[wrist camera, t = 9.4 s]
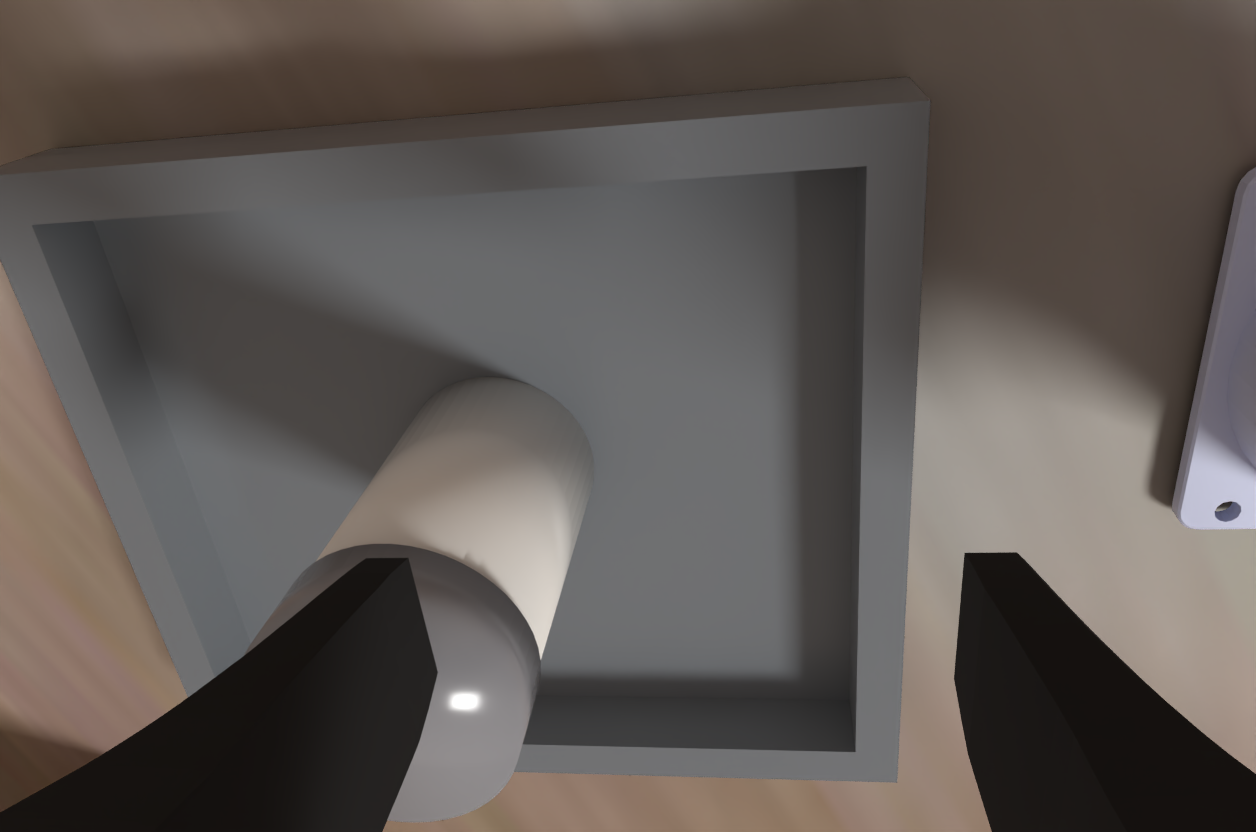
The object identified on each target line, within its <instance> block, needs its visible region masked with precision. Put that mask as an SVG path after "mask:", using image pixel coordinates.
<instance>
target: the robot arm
mask: <svg viewBox="0 0 1256 832" xmlns="http://www.w3.org/2000/svg"><path fill="white" fill-rule="evenodd" d="M1229 501H1232V504H1231V506H1230V507H1228V508H1227V509H1225V510H1223V511H1218V512H1217V511H1215V510H1216V508H1217V507H1218V506H1219V505H1221V504H1222V503H1224V502H1229ZM1172 511H1173V512H1174V514H1175V515H1176V517H1177V518H1178V519H1179V521H1180V522H1181V524H1182V525H1184V526H1186V527H1188V528H1191V529H1256V167H1255V168H1253V169H1252V170H1250V171H1248V173H1247V174H1246V175H1245V176H1244V177H1243V178H1242V179H1241V180H1240V182H1239V185H1238V187H1237V190H1236V193H1235V198H1234V203H1233V208H1232V213H1231V217H1230V222H1229V227H1228V232H1227V237H1226V242H1225V247H1224V252H1223V257H1222V262H1221V266H1220V271H1219V276H1218V281H1217V286H1216V291H1215V296H1214V301H1213V306H1212V311H1211V315H1210V320H1209V325H1208V330H1207V335H1206V340H1205V345H1204V350H1203V355H1202V360H1201V364H1200V369H1199V374H1198V379H1197V384H1196V389H1195V394H1194V399H1193V404H1192V409H1191V413H1190V418H1189V423H1188V428H1187V433H1186V438H1185V443H1184V448H1183V453H1182V457H1181V462H1180V467H1179V472H1178V477H1177V482H1176V487H1175V492H1174V497H1173V502H1172ZM437 674H438V671H437V667H436V663H435V659H434V655H433V651H432V647H431V644H430V640H429V636H428V632H427V628H426V624H425V620H424V616H423V612H422V609H421V605H420V601H419V597H418V593H417V589H416V585H415V581H414V577H413V574H412V570H411V566H410V562H409V558H365V559H364V560H363V561H361V562H360V563H359V564H357V565H356V566H354V567H353V568H352V569H350V570H349V571H348V572H347V573H345V574H344V575H343V576H342V577H340V578H339V579H338V580H337V581H335V582H334V583H333V584H332V585H330V586H329V587H328V588H327V589H325V590H324V591H323V592H322V593H321V594H319V595H318V596H317V597H316V598H315V599H313V600H312V601H311V602H310V603H308V604H307V605H306V606H305V607H304V608H302V609H301V610H300V611H299V612H298V613H296V614H295V615H294V616H293V617H291V618H290V619H289V620H288V621H286V622H285V623H284V624H283V625H282V626H280V627H279V628H278V629H277V630H275V631H274V632H273V633H272V634H270V635H269V636H268V637H267V638H265V639H264V640H263V641H262V642H261V643H259V644H258V645H257V646H256V647H254V648H253V649H252V650H251V651H249V652H248V653H247V654H246V655H244V656H243V657H242V658H240V659H239V660H238V661H236V662H235V663H234V664H232V665H231V666H230V667H228V668H227V669H226V670H224V671H223V672H221V673H220V674H219V675H217V676H216V677H215V678H213V679H212V680H211V681H209V682H208V683H207V684H205V685H204V686H203V687H201V688H200V689H199V690H197V691H196V692H195V693H193V694H192V695H191V696H189V697H188V698H187V699H185V700H184V701H183V702H181V703H180V704H179V705H177V706H176V707H174V708H173V709H171V710H170V711H169V712H167V713H166V714H164V715H163V716H161V717H160V718H158V719H157V720H155V721H154V722H152V723H151V724H149V725H148V726H146V727H145V728H143V729H142V730H140V731H139V732H137V733H136V734H134V735H133V736H131V737H129V738H128V739H126V740H125V741H123V742H122V743H120V744H118V745H117V746H115V747H114V748H112V749H111V750H109V751H107V752H106V753H104V754H103V755H101V756H99V757H98V758H96V759H94V760H93V761H91V762H89V763H88V764H86V765H85V766H83V767H81V768H79V769H77V770H76V771H74V772H72V773H70V774H68V775H67V776H65V777H63V778H61V779H60V780H58V781H56V782H54V783H52V784H51V785H49V786H47V787H45V788H43V789H42V790H40V791H38V792H36V793H35V794H33V795H31V796H29V797H27V798H26V799H24V800H22V801H20V802H18V803H17V804H15V805H13V806H11V807H10V808H8V809H6V810H4V811H2V812H0V832H382V831H383V829H384V826H385V824H386V822H387V819H388V817H389V815H390V812H391V810H392V807H393V805H394V803H395V800H396V798H397V796H398V793H399V791H400V788H401V786H402V783H403V781H404V779H405V776H406V774H407V771H408V769H409V766H410V764H411V762H412V759H413V757H414V754H415V752H416V749H417V747H418V744H419V741H420V738H421V734H422V731H423V727H424V724H425V720H426V717H427V713H428V710H429V706H430V702H431V698H432V694H433V690H434V686H435V682H436V678H437ZM954 680H955V686H956V691H957V697H958V703H959V708H960V714H961V720H962V725H963V730H964V735H965V741H966V746H967V751H968V755H969V759H970V762H971V765H972V769H973V772H974V775H975V779H976V782H977V785H978V788H979V792H980V795H981V798H982V801H983V804H984V808H985V811H986V814H987V817H988V821H989V824H990V827H991V830H992V832H1256V774H1255V773H1254V772H1252V771H1251V770H1250V769H1248V768H1247V767H1246V766H1244V765H1243V764H1242V763H1240V762H1239V761H1238V760H1236V759H1235V758H1234V757H1232V756H1231V755H1230V754H1228V753H1227V752H1226V751H1225V750H1223V749H1222V748H1221V747H1220V746H1218V745H1217V744H1216V743H1215V742H1213V741H1212V740H1211V739H1210V738H1208V737H1207V736H1206V735H1205V734H1203V733H1202V732H1201V731H1200V730H1199V729H1197V728H1196V727H1195V726H1194V725H1193V724H1192V723H1190V722H1189V721H1188V720H1187V719H1186V718H1185V717H1183V716H1182V715H1181V714H1180V713H1179V712H1178V711H1177V710H1175V709H1174V708H1173V707H1172V706H1171V705H1170V704H1168V703H1167V702H1166V701H1165V700H1164V699H1163V698H1162V697H1161V696H1159V695H1158V694H1157V693H1156V692H1155V691H1154V690H1153V689H1152V688H1151V687H1150V686H1149V685H1147V684H1146V683H1145V682H1144V681H1143V680H1142V679H1141V678H1140V677H1139V676H1138V675H1137V674H1136V673H1135V672H1134V671H1133V670H1132V669H1131V668H1130V667H1128V666H1127V665H1126V664H1125V663H1124V662H1123V661H1122V660H1121V659H1120V658H1119V657H1118V656H1117V655H1116V654H1115V653H1114V652H1113V651H1112V650H1111V649H1110V648H1109V647H1108V646H1107V645H1106V644H1105V643H1104V642H1103V641H1102V640H1101V639H1100V638H1099V637H1098V636H1097V635H1096V634H1095V633H1094V632H1093V631H1092V630H1091V629H1090V628H1089V627H1088V626H1087V625H1086V624H1085V623H1084V622H1083V621H1082V620H1081V619H1080V618H1079V617H1078V616H1077V615H1076V614H1075V613H1074V612H1073V611H1072V610H1071V609H1070V608H1069V607H1068V606H1067V605H1066V604H1065V602H1064V601H1063V600H1062V599H1061V598H1060V597H1059V596H1058V595H1057V594H1056V593H1055V592H1054V591H1053V590H1052V589H1051V588H1050V586H1049V585H1048V584H1047V583H1046V582H1045V581H1044V580H1043V579H1042V578H1041V577H1040V576H1039V575H1038V574H1037V573H1036V571H1035V570H1034V569H1033V568H1032V567H1031V566H1030V565H1029V564H1028V563H1027V562H1026V561H1025V560H1024V559H1023V558H1022V557H1021V556H1020V555H1019V554H1018V553H965V555H964V567H963V579H962V591H961V603H960V615H959V627H958V639H957V651H956V663H955V675H954Z"/></svg>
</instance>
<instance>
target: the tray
mask: <svg viewBox="0 0 1256 832" xmlns="http://www.w3.org/2000/svg"><path fill="white" fill-rule="evenodd" d="M930 102H931V100H930V99H929V98H928V97H927V96H926V95H925V94H924V93H923V92H922V91H921V90H920V89H919V87H918V86H917V85H916V84H915V83H914V82H913V81H912V80H911V79H910V78H909V77H902V78H890V79H878V80H866V81H854V82H842V83H830V84H819V85H807V86H795V87H783V88H771V89H759V90H747V91H735V92H723V93H711V94H700V95H688V96H676V97H664V98H652V99H640V100H628V101H616V102H604V103H592V104H581V105H569V106H557V107H545V108H533V109H521V110H509V111H497V112H485V113H473V114H462V115H450V116H438V117H426V118H414V119H402V120H390V121H378V122H366V123H355V124H343V125H331V126H319V127H307V128H295V129H283V130H271V131H259V132H247V133H236V134H224V135H212V136H200V137H188V138H176V139H164V140H152V141H140V142H128V143H117V144H105V145H93V146H81V147H69V148H57V149H49V150H46V151H43V152H40V153H37V154H34V155H31V156H28V157H25V158H22V159H19V160H16V161H14V162H11V163H8V164H5V165H2V166H0V260H1V262H2V265H3V267H4V269H5V272H6V274H7V276H8V279H9V281H10V283H11V286H12V288H13V290H14V293H15V295H16V297H17V300H18V302H19V304H20V307H21V309H22V311H23V314H24V316H25V318H26V321H27V323H28V325H29V328H30V330H31V332H32V335H33V337H34V339H35V342H36V344H37V346H38V349H39V351H40V353H41V356H42V358H43V360H44V363H45V365H46V367H47V370H48V372H49V374H50V377H51V379H52V381H53V384H54V386H55V388H56V391H57V393H58V395H59V398H60V400H61V402H62V405H63V407H64V409H65V412H66V414H67V416H68V419H69V421H70V423H71V426H72V428H73V430H74V433H75V435H76V437H77V440H78V442H79V444H80V447H81V449H82V451H83V454H84V456H85V458H86V461H87V463H88V465H89V468H90V470H91V472H92V475H93V477H94V479H95V481H96V484H97V486H98V488H99V491H100V493H101V495H102V498H103V500H104V502H105V505H106V507H107V509H108V512H109V514H110V516H111V519H112V521H113V523H114V526H115V528H116V530H117V533H118V535H119V537H120V540H121V542H122V544H123V547H124V549H125V551H126V554H127V556H128V558H129V561H130V563H131V565H132V568H133V570H134V572H135V575H136V577H137V579H138V582H139V584H140V586H141V589H142V591H143V593H144V596H145V598H146V600H147V603H148V605H149V607H150V610H151V612H152V614H153V617H154V619H155V621H156V624H157V626H158V628H159V631H160V633H161V635H162V638H163V640H164V642H165V645H166V647H167V649H168V652H169V654H170V656H171V659H172V661H173V663H174V666H175V668H176V670H177V673H178V675H179V677H180V680H181V682H182V684H183V687H184V689H185V691H186V694H187V696H188V697H189V696H191V695H192V694H193V693H195V692H196V691H197V690H199V689H200V688H201V687H203V686H204V685H205V684H207V683H208V682H209V681H211V680H212V679H213V678H215V677H216V676H217V675H219V674H220V673H221V672H223V671H224V670H226V669H227V668H228V667H230V666H231V665H232V664H234V663H235V662H236V661H238V660H239V659H240V658H242V657H243V656H244V654H245V652H246V651H247V649H248V647H249V646H250V644H251V643H252V641H253V640H254V639H255V637H256V636H257V634H258V633H259V631H260V630H261V629H262V627H263V626H264V624H265V623H266V621H267V620H268V619H269V617H270V616H271V614H272V613H273V611H274V610H275V609H276V607H277V606H278V604H279V603H280V601H281V600H282V599H283V597H284V596H285V594H286V593H287V591H288V590H289V589H290V587H291V586H292V584H293V583H294V582H295V580H296V579H297V578H298V577H299V576H300V574H301V573H302V572H303V571H304V570H305V569H307V568H308V567H309V566H310V565H311V564H313V563H314V562H316V560H317V559H318V557H319V556H320V554H321V553H322V551H323V550H324V549H325V547H326V546H327V544H328V543H329V541H330V540H331V538H332V537H333V536H334V534H335V533H336V531H337V530H338V528H339V527H340V525H341V524H342V522H343V521H344V520H345V518H346V517H347V515H348V514H349V512H350V511H351V509H352V508H353V507H354V505H355V504H356V502H357V501H358V499H359V498H360V496H361V495H362V493H363V492H364V491H365V489H366V488H367V486H368V485H369V483H370V482H371V480H372V479H373V477H374V476H375V475H376V473H377V472H378V470H379V469H380V467H381V466H382V464H383V463H384V462H385V460H386V459H387V457H388V456H389V454H390V453H391V451H392V450H393V448H394V447H395V446H396V444H397V443H398V441H399V440H400V438H401V437H402V435H403V434H404V433H405V431H406V430H407V428H408V427H409V425H410V424H411V422H412V421H413V419H414V418H415V417H416V415H417V414H418V412H419V411H420V409H421V408H422V407H423V406H424V404H425V403H426V402H427V401H428V400H429V399H430V398H431V397H432V396H433V395H435V394H436V393H437V392H439V391H440V390H442V389H444V388H445V387H447V386H449V385H452V384H454V383H456V382H460V381H463V380H466V379H472V378H478V377H498V378H506V379H511V380H516V381H519V382H522V383H525V384H528V385H531V386H533V387H535V388H537V389H539V390H541V391H543V392H545V393H546V394H548V395H550V396H551V397H553V398H554V399H555V400H557V401H558V402H559V403H560V404H562V405H563V406H564V407H565V408H566V409H567V410H568V411H569V412H570V413H571V414H572V415H573V417H574V418H575V419H576V420H577V422H578V423H579V424H580V426H581V428H582V429H583V431H584V433H585V435H586V437H587V439H588V441H589V444H590V447H591V450H592V454H593V460H594V479H593V485H592V489H591V492H590V496H589V499H588V503H587V506H586V509H585V513H584V516H583V520H582V523H581V526H580V530H579V533H578V536H577V540H576V543H575V547H574V550H573V553H572V557H571V560H570V563H569V567H568V570H567V574H566V577H565V580H564V584H563V587H562V591H561V594H560V597H559V601H558V604H557V607H556V611H555V614H554V618H553V621H552V624H551V628H550V631H549V634H548V638H547V641H546V645H545V648H544V651H543V655H542V658H541V678H540V684H539V689H538V692H537V696H536V699H535V703H534V706H533V710H532V713H531V716H530V720H529V723H528V727H527V730H526V734H525V737H524V741H523V744H522V748H521V751H520V755H519V758H518V761H517V764H516V767H515V770H514V772H538V773H574V774H610V775H646V776H682V777H718V778H754V779H790V780H826V781H862V782H897V775H898V754H899V734H900V713H901V693H902V673H903V652H904V632H905V612H906V591H907V571H908V550H909V530H910V510H911V489H912V469H913V449H914V428H915V408H916V387H917V367H918V347H919V326H920V306H921V286H922V265H923V245H924V224H925V204H926V184H927V163H928V143H929V123H930Z"/></svg>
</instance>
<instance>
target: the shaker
mask: <svg viewBox="0 0 1256 832" xmlns="http://www.w3.org/2000/svg"><path fill="white" fill-rule="evenodd" d="M593 479H594V460H593V454H592V450H591V447H590V444H589V441H588V439H587V437H586V435H585V433H584V431H583V429H582V428H581V426H580V424H579V423H578V422H577V420H576V419H575V418H574V417H573V415H572V414H571V413H570V412H569V411H568V410H567V409H566V408H565V407H564V406H563V405H562V404H560V403H559V402H558V401H557V400H555V399H554V398H553V397H551V396H550V395H548V394H546V393H545V392H543V391H541V390H539V389H537V388H535V387H533V386H531V385H528V384H525V383H522V382H519V381H516V380H511V379H506V378H498V377H478V378H472V379H466V380H463V381H460V382H456V383H454V384H452V385H449V386H447V387H445V388H444V389H442V390H440V391H439V392H437V393H436V394H435V395H433V396H432V397H431V398H430V399H429V400H428V401H427V402H426V403H425V404H424V406H423V407H422V408H421V409H420V411H419V412H418V414H417V415H416V417H415V418H414V419H413V421H412V422H411V424H410V425H409V427H408V428H407V430H406V431H405V433H404V434H403V435H402V437H401V438H400V440H399V441H398V443H397V444H396V446H395V447H394V448H393V450H392V451H391V453H390V454H389V456H388V457H387V459H386V460H385V462H384V463H383V464H382V466H381V467H380V469H379V470H378V472H377V473H376V475H375V476H374V477H373V479H372V480H371V482H370V483H369V485H368V486H367V488H366V489H365V491H364V492H363V493H362V495H361V496H360V498H359V499H358V501H357V502H356V504H355V505H354V507H353V508H352V509H351V511H350V512H349V514H348V515H347V517H346V518H345V520H344V521H343V522H342V524H341V525H340V527H339V528H338V530H337V531H336V533H335V534H334V536H333V537H332V538H331V540H330V541H329V543H328V544H327V546H326V547H325V549H324V550H323V551H322V553H321V554H320V556H319V557H318V559H317V560H316V562H314V563H313V564H311V565H310V566H309V567H308V568H307V569H305V570H304V571H303V572H302V573H301V574H300V576H299V577H298V578H297V579H296V580H295V582H294V583H293V584H292V586H291V587H290V589H289V590H288V591H287V593H286V594H285V596H284V597H283V599H282V600H281V601H280V603H279V604H278V606H277V607H276V609H275V610H274V611H273V613H272V614H271V616H270V617H269V619H268V620H267V621H266V623H265V624H264V626H263V627H262V629H261V630H260V631H259V633H258V634H257V636H256V637H255V639H254V640H253V641H252V643H251V644H250V646H249V647H248V649H247V651H246V652H245V654H244V655H246V654H247V653H248V652H249V651H251V650H252V649H253V648H254V647H256V646H257V645H258V644H259V643H261V642H262V641H263V640H264V639H265V638H267V637H268V636H269V635H270V634H272V633H273V632H274V631H275V630H277V629H278V628H279V627H280V626H282V625H283V624H284V623H285V622H286V621H288V620H289V619H290V618H291V617H293V616H294V615H295V614H296V613H298V612H299V611H300V610H301V609H302V608H304V607H305V606H306V605H307V604H308V603H310V602H311V601H312V600H313V599H315V598H316V597H317V596H318V595H319V594H321V593H322V592H323V591H324V590H325V589H327V588H328V587H329V586H330V585H332V584H333V583H334V582H335V581H337V580H338V579H339V578H340V577H342V576H343V575H344V574H345V573H347V572H348V571H349V570H350V569H352V568H353V567H354V566H356V565H357V564H359V563H360V562H361V561H363V560H364V559H365V558H409V562H410V566H411V570H412V574H413V577H414V581H415V585H416V589H417V593H418V597H419V601H420V605H421V609H422V612H423V616H424V620H425V624H426V628H427V632H428V636H429V640H430V644H431V647H432V651H433V655H434V659H435V663H436V667H437V671H438V674H437V678H436V682H435V686H434V690H433V694H432V698H431V702H430V706H429V710H428V713H427V717H426V720H425V724H424V727H423V731H422V734H421V738H420V741H419V744H418V747H417V749H416V752H415V754H414V757H413V759H412V762H411V764H410V766H409V769H408V771H407V774H406V776H405V779H404V781H403V783H402V786H401V788H400V791H399V793H398V796H397V798H396V800H395V803H394V805H393V807H392V810H391V812H390V815H389V817H388V819H387V820H389V821H397V822H432V821H439V820H445V819H450V818H453V817H457V816H461V815H463V814H466V813H468V812H471V811H473V810H476V809H477V808H479V807H481V806H482V805H484V804H486V803H488V802H489V801H490V800H491V799H492V798H494V797H495V796H496V795H497V794H498V793H499V792H500V791H501V790H502V789H503V788H504V787H505V785H506V784H507V783H508V781H509V779H510V778H511V776H512V774H513V772H514V770H515V767H516V764H517V761H518V758H519V755H520V751H521V748H522V744H523V741H524V737H525V734H526V730H527V727H528V723H529V720H530V716H531V713H532V710H533V706H534V703H535V699H536V696H537V692H538V689H539V684H540V678H541V658H542V655H543V651H544V648H545V645H546V641H547V638H548V634H549V631H550V628H551V624H552V621H553V618H554V614H555V611H556V607H557V604H558V601H559V597H560V594H561V591H562V587H563V584H564V580H565V577H566V574H567V570H568V567H569V563H570V560H571V557H572V553H573V550H574V547H575V543H576V540H577V536H578V533H579V530H580V526H581V523H582V520H583V516H584V513H585V509H586V506H587V503H588V499H589V496H590V492H591V489H592V485H593Z"/></svg>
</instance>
